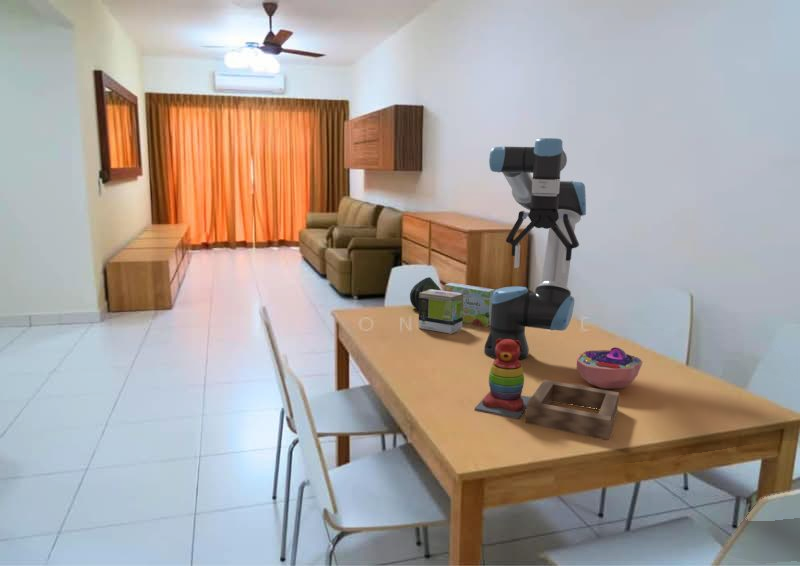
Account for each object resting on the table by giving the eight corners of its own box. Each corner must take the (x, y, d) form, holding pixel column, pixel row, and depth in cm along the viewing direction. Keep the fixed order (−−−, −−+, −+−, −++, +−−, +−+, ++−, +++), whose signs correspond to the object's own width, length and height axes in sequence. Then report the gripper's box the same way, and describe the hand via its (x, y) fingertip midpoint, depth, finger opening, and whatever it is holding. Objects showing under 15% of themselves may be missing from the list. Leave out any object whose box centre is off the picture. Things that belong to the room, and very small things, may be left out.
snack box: (442, 319, 249) (443, 284, 246) (449, 316, 254) (450, 282, 251) (487, 327, 237) (489, 291, 234) (494, 324, 242) (496, 288, 239)
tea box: (462, 329, 234) (464, 292, 231) (451, 334, 226) (452, 297, 223) (429, 323, 242) (431, 287, 239) (417, 328, 234) (418, 292, 231)
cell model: (561, 380, 180) (563, 344, 178) (612, 372, 188) (615, 338, 186) (599, 400, 165) (603, 361, 163) (653, 391, 173) (657, 354, 170)
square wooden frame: (525, 422, 149) (526, 404, 148) (542, 396, 167) (544, 379, 166) (608, 440, 141) (610, 420, 140) (617, 410, 158) (619, 392, 157)
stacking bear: (480, 406, 158) (483, 342, 154) (489, 393, 167) (492, 332, 163) (520, 413, 154) (525, 347, 150) (527, 399, 163) (532, 337, 159)
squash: (413, 302, 254) (434, 275, 256) (399, 296, 267) (419, 271, 269) (434, 321, 259) (455, 295, 262) (420, 315, 273) (439, 289, 275)
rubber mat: (474, 409, 156) (474, 408, 156) (491, 391, 170) (491, 389, 169) (518, 419, 151) (519, 417, 151) (532, 399, 164) (532, 397, 164)
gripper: (498, 193, 167) (494, 267, 171) (589, 197, 156) (582, 275, 160) (505, 192, 174) (501, 263, 178) (593, 196, 163) (586, 271, 167)
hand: (539, 269), depth 169 cm, fingers open, 13 cm apart
